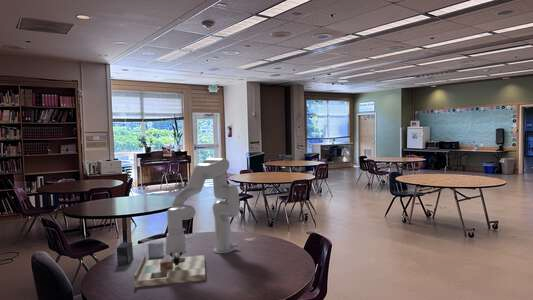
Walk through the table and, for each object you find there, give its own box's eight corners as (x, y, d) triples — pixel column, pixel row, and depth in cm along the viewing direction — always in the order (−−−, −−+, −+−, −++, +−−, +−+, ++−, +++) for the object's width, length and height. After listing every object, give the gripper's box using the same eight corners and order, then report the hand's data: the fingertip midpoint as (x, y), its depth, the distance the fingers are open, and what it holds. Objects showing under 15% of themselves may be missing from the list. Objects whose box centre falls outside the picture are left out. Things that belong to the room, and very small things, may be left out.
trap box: (204, 260, 213) (204, 250, 213) (205, 280, 183) (204, 268, 183) (144, 265, 207) (143, 255, 206) (134, 287, 177) (134, 275, 177)
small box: (122, 259, 219) (121, 242, 219) (133, 258, 220) (132, 241, 219) (116, 265, 209) (115, 247, 208) (128, 264, 209) (127, 246, 209)
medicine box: (163, 255, 224) (163, 241, 224) (161, 257, 220) (160, 243, 219) (151, 255, 225) (150, 241, 225) (148, 257, 221) (147, 243, 220)
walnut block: (172, 265, 198) (172, 257, 198) (172, 269, 192) (171, 261, 192) (161, 266, 197) (161, 258, 196) (160, 270, 191) (159, 262, 191)
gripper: (189, 228, 199) (191, 261, 200) (161, 230, 197) (162, 263, 197) (189, 231, 192) (190, 265, 193) (160, 234, 189) (161, 268, 190)
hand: (176, 264), depth 195 cm, fingers closed
